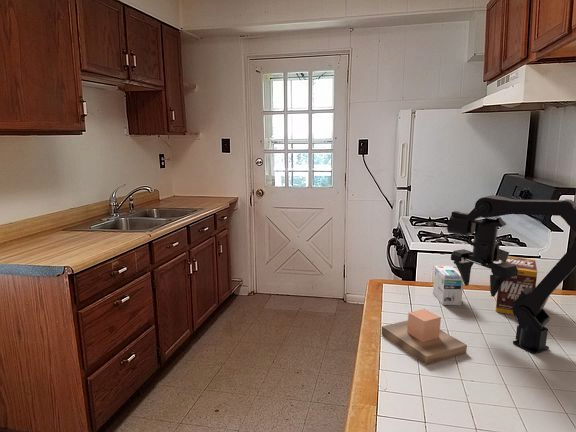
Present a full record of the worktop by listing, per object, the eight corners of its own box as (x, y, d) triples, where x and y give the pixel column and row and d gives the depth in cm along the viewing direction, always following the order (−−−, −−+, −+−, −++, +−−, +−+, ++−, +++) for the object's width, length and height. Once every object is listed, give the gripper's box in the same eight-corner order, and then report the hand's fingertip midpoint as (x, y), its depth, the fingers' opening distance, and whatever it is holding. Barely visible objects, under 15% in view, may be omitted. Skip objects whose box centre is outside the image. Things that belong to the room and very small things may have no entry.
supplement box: (495, 312, 136) (500, 266, 133) (496, 296, 149) (501, 254, 146) (531, 318, 131) (538, 272, 128) (529, 301, 144) (535, 258, 141)
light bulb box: (461, 305, 140) (464, 275, 138) (441, 305, 141) (444, 275, 138) (450, 293, 151) (453, 265, 149) (431, 293, 151) (434, 265, 149)
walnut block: (465, 355, 110) (467, 344, 110) (426, 367, 105) (426, 356, 104) (418, 326, 126) (419, 317, 126) (381, 335, 120) (381, 326, 120)
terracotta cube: (439, 337, 114) (440, 317, 112) (422, 342, 111) (424, 321, 110) (422, 328, 119) (424, 308, 118) (407, 332, 116) (408, 312, 115)
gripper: (534, 244, 114) (527, 297, 117) (477, 229, 130) (472, 276, 133) (506, 248, 109) (500, 304, 112) (451, 233, 126) (447, 281, 129)
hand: (479, 290), depth 122 cm, fingers open, 9 cm apart
